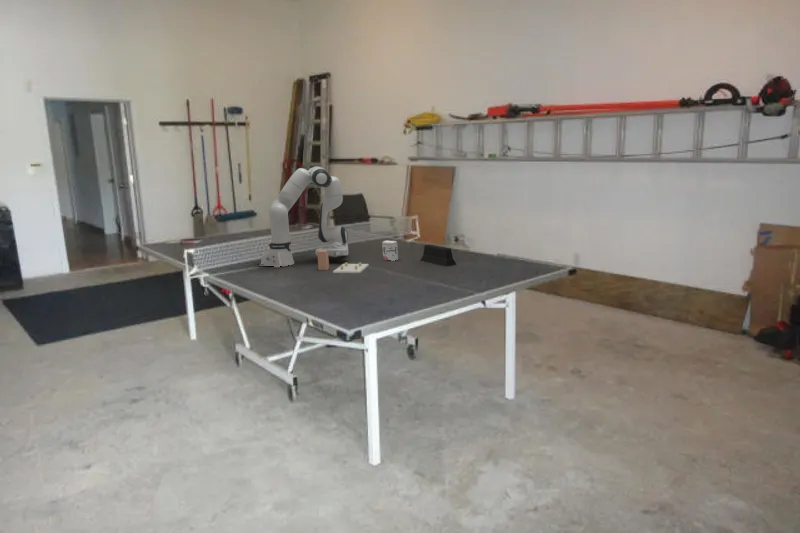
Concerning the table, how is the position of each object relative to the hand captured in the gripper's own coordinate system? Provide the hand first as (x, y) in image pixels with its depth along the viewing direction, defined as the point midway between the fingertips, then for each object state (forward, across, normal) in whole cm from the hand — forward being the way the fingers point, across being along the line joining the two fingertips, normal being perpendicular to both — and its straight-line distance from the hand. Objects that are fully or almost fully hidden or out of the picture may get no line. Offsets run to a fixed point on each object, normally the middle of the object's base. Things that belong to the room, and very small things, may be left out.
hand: (328, 254), depth 346 cm
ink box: (-16, +35, +7) cm, 39 cm away
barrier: (-9, +66, +7) cm, 67 cm away
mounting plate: (+10, +17, +7) cm, 21 cm away
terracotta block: (+10, 0, +7) cm, 12 cm away
